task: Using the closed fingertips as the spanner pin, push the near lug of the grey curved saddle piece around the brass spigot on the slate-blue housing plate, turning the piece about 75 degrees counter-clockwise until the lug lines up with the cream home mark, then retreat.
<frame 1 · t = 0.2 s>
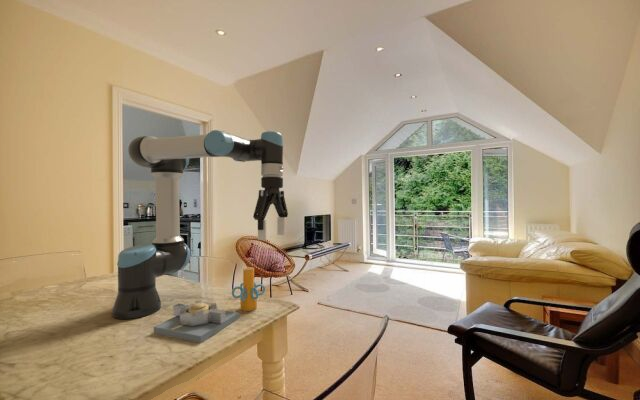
hand: (272, 237, 101), 28 cm above the table, fingers open, 13 cm apart
housing: (198, 325, 94), on the table
grey curved saddle piece: (198, 311, 94), point 4 cm above the table, hinge at 0.0°
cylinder: (248, 308, 108), on the table
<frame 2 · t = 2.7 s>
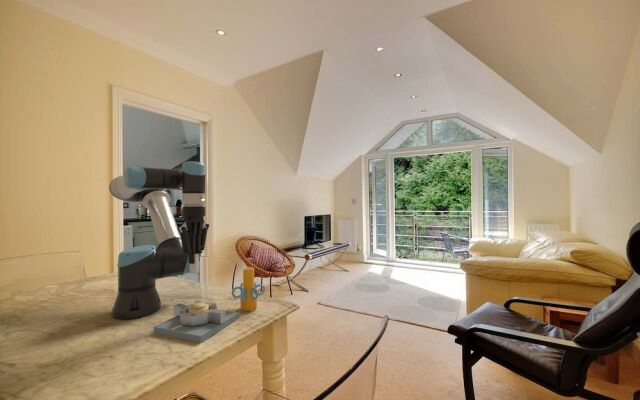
hand: (194, 272, 102), 15 cm above the table, fingers closed
nothing on the table moved.
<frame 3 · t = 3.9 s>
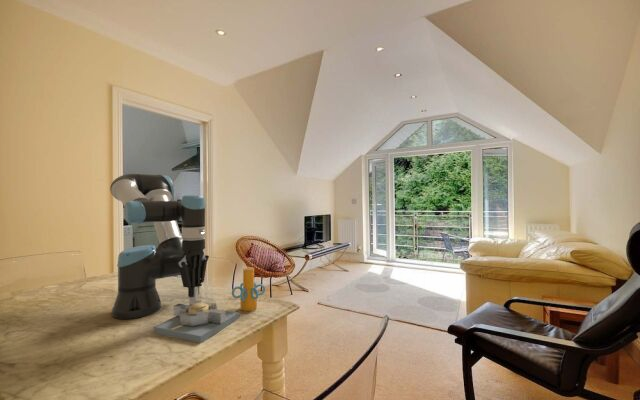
hand: (193, 305, 102), 3 cm above the table, fingers closed
nothing on the table moved.
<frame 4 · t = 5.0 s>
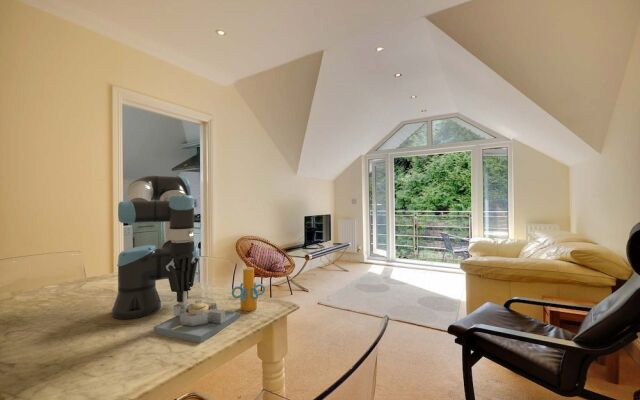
hand: (182, 310, 98), 3 cm above the table, fingers closed
grey curved saddle piece: (198, 311, 94), point 4 cm above the table, hinge at 0.0°, touching gripper
everything else where it was.
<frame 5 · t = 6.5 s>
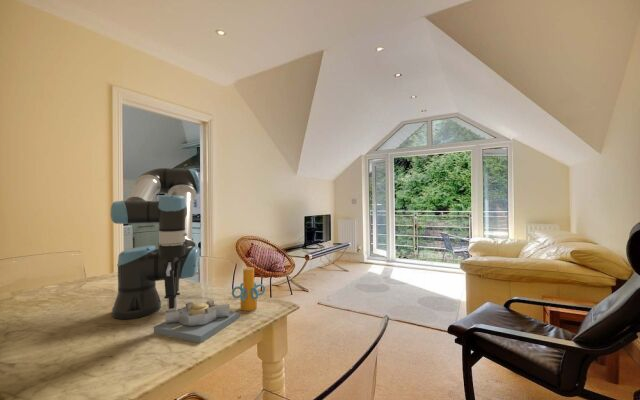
hand: (172, 317, 92), 3 cm above the table, fingers closed
grey curved saddle piece: (198, 311, 94), point 4 cm above the table, hinge at 36.1°, touching gripper
everything else where it was.
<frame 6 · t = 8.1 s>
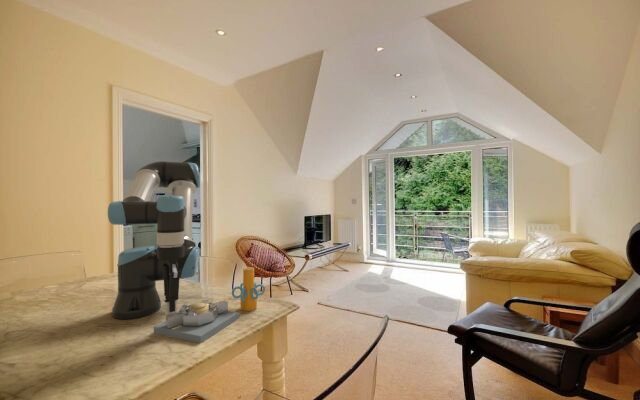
hand: (171, 320, 90), 3 cm above the table, fingers closed
grey curved saddle piece: (198, 311, 94), point 4 cm above the table, hinge at 63.6°
everything else where it was.
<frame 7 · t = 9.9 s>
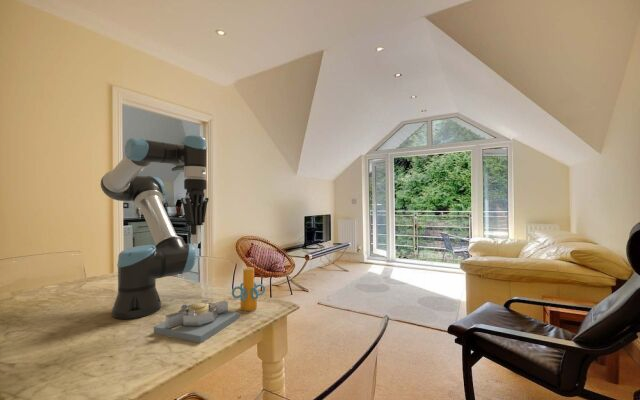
hand: (195, 243, 106), 25 cm above the table, fingers closed
nothing on the table moved.
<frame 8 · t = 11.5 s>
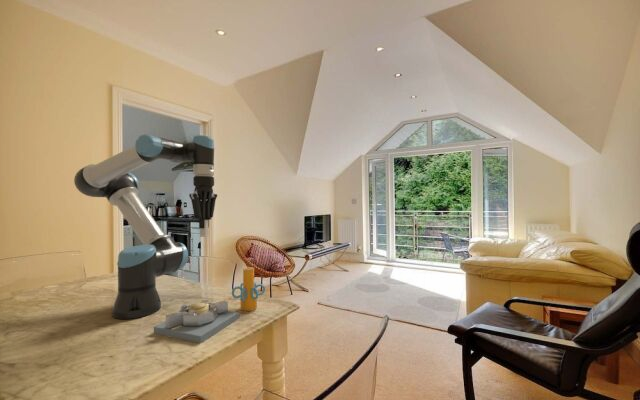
hand: (204, 236, 113), 26 cm above the table, fingers closed
nothing on the table moved.
at the end: grey curved saddle piece at +64° (first picture: +0°); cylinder moved 0.2 cm from its start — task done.
